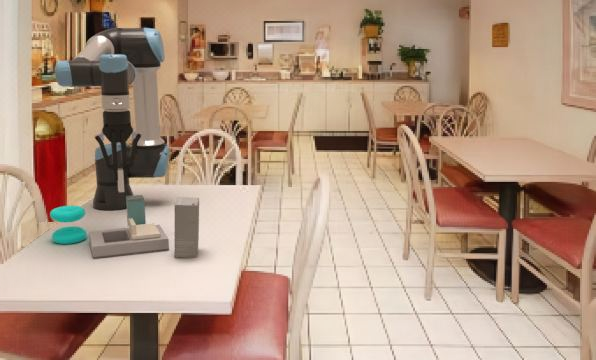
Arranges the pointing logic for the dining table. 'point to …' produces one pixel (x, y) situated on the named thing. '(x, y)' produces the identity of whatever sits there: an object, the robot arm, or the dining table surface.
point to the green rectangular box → (136, 209)
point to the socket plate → (124, 243)
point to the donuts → (68, 233)
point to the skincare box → (186, 227)
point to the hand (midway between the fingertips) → (121, 191)
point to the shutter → (142, 230)
